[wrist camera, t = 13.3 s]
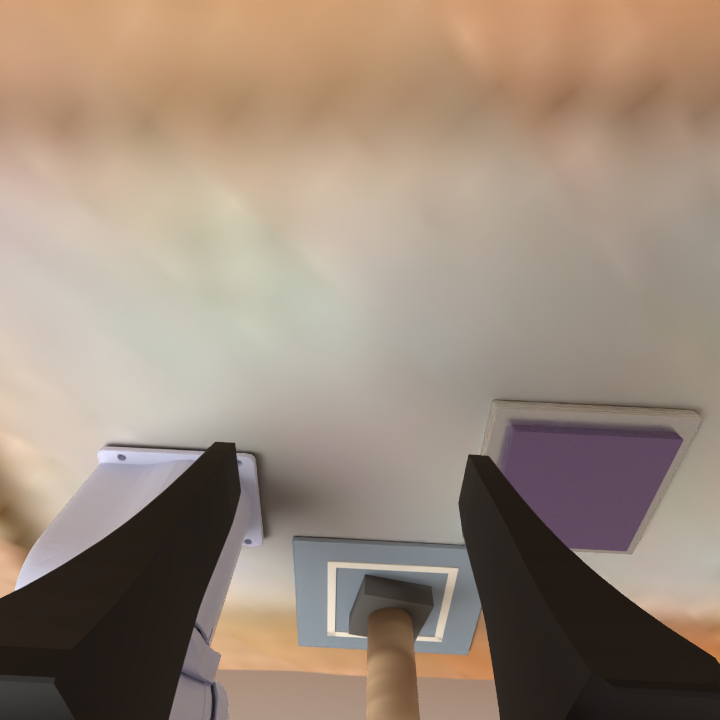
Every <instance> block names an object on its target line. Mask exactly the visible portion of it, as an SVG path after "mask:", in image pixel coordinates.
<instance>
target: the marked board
mask: <svg viewBox="0 0 720 720" xmlns="http://www.w3.org/2000/svg"><path fill="white" fill-rule="evenodd" d="M293 553H294V571H295V589H296V607H297V626H298V644H299V646H307V647H326V648H344V649H363V650H367V637H363V636H357V635H351V634H348V633H349V614H350V611H351V609H352V606H353V604H354V601H355V599H356V596H357V593H358V591H359V588H360V586H361V583H362V581H363V578H364V575H365V574H366V575H372V576H377V577H383V578H388V579H394V580H399V581H405V582H410V583H416V584H421V585H427V586H432V594H433V602H434V608H433V609H432V611H431V613H430V615H429V617H428V619H427V620H426V622H425V624H424V626H423V628H422V630H421V631H420V633H419V635H418V637H417V639H416V641H415V642H414V651H415V652H419V653H437V654H456V655H468V652H469V648H470V645H471V641H472V638H473V634H474V631H475V628H476V624H477V621H478V617H479V614H480V610H481V607H482V606H481V602H480V598H479V594H478V591H477V587H476V583H475V579H474V575H473V572H472V568H471V564H470V560H469V556H468V553H467V549H466V546H463V545H444V544H424V543H405V542H386V541H366V540H347V539H328V538H308V537H293Z"/></svg>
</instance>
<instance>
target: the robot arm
mask: <svg viewBox="0 0 720 720" xmlns="http://www.w3.org/2000/svg"><path fill="white" fill-rule="evenodd" d="M123 455H124V456H123ZM97 456H98V459H99V462H100V464H99V465H98V467H97V468H96V469H95V470H94V471H93V473H92V474H91V475H90V476H89V478H88V479H87V480H86V481H85V482H84V484H83V485H82V486H81V487H80V488H79V490H78V491H77V492H76V493H75V495H74V496H73V497H72V498H71V499H70V501H69V502H68V503H67V504H66V506H65V507H64V508H63V509H62V510H61V512H60V513H59V514H58V515H57V517H56V518H55V519H54V520H53V521H52V523H51V524H50V525H49V526H48V528H47V529H46V530H45V531H44V532H43V534H42V535H41V536H40V537H39V539H38V540H37V541H36V543H35V544H34V546H33V547H32V549H31V551H30V552H29V554H28V556H27V558H26V560H25V562H24V564H23V567H22V569H21V571H20V574H19V577H18V580H17V583H16V587H15V591H14V592H12V593H10V594H8V595H6V596H4V597H2V598H0V720H229V714H228V700H227V694H226V691H225V688H224V686H223V685H222V684H221V683H220V682H219V681H216V680H214V678H215V675H216V671H217V668H218V664H219V661H220V657H221V655H220V653H218V652H216V651H214V650H213V649H211V648H210V645H211V642H212V639H213V636H214V632H215V629H216V626H217V623H218V620H219V617H220V614H221V610H222V607H223V604H224V601H225V598H226V595H227V592H228V588H229V585H230V582H231V579H232V576H233V573H234V569H235V566H236V563H237V560H238V557H239V554H240V551H241V547H242V546H252V547H258V546H261V545H262V544H263V540H264V535H263V525H262V516H261V506H260V496H259V487H258V477H257V467H256V459H255V457H254V456H253V455H251V454H247V453H236V447H235V443H226V442H215V443H214V444H212V445H211V446H210V447H209V448H208V449H207V450H206V451H188V450H168V449H149V448H129V447H109V446H105V447H102V448H101V449H100V450H99V451H98V453H97ZM237 460H240V461H241V462H238V461H237ZM459 510H460V518H461V525H462V532H463V537H464V541H465V545H466V549H467V553H468V556H469V560H470V564H471V568H472V572H473V575H474V579H475V583H476V587H477V591H478V594H479V598H480V602H481V606H482V610H483V614H484V619H485V623H486V629H487V635H488V641H489V647H490V653H491V659H492V666H493V672H494V679H495V686H496V692H497V699H498V706H499V713H500V720H720V664H719V663H718V661H717V660H716V658H715V657H713V656H712V655H710V654H708V653H707V652H705V651H704V650H702V649H701V648H699V647H698V646H696V645H694V644H693V643H691V642H690V641H688V640H687V639H685V638H684V637H682V636H681V635H679V634H677V633H676V632H674V631H673V630H671V629H670V628H668V627H667V626H665V625H664V624H662V623H661V622H660V621H658V620H657V619H655V618H654V617H653V616H651V615H650V614H648V613H647V612H646V611H644V610H643V609H641V608H640V607H639V606H637V605H636V604H635V603H633V602H632V601H631V600H629V599H628V598H627V597H625V596H624V595H623V594H621V593H620V592H619V591H618V590H616V589H615V588H614V587H613V586H612V585H610V584H609V583H608V582H607V581H605V580H604V579H603V578H602V577H600V576H599V575H598V574H597V573H596V572H595V571H593V570H592V569H591V568H590V567H589V566H588V565H586V564H585V563H584V562H583V561H582V560H581V559H580V558H579V557H578V556H577V555H576V554H575V553H573V552H572V551H571V550H570V549H569V548H568V547H567V546H566V545H565V544H564V543H563V542H562V541H561V540H560V539H559V538H558V537H557V536H556V535H555V534H554V533H553V532H552V531H551V530H550V529H549V528H548V527H547V526H546V525H545V523H544V522H543V521H542V520H541V519H540V518H539V517H538V516H537V515H536V513H535V512H534V511H533V510H532V509H531V508H530V506H529V505H528V504H527V503H526V502H525V501H524V499H523V498H522V497H521V496H520V495H519V493H518V492H517V491H516V490H515V489H514V487H513V486H512V485H511V483H510V482H509V481H508V480H507V478H506V477H505V476H504V475H503V473H502V472H501V471H500V469H499V468H498V467H497V466H496V464H495V463H494V462H493V460H492V459H491V458H490V457H489V456H486V455H468V460H467V464H466V469H465V474H464V479H463V484H462V488H461V493H460V498H459Z"/></svg>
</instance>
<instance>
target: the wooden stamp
mask: <svg viewBox="0 0 720 720" xmlns="http://www.w3.org/2000/svg"><path fill="white" fill-rule="evenodd" d="M433 608H434V602H433V594H432V586H427V585H421V584H416V583H410V582H405V581H399V580H394V579H388V578H383V577H377V576H372V575H366V574H365V575H364V578H363V581H362V583H361V586H360V588H359V591H358V593H357V596H356V599H355V601H354V604H353V606H352V609H351V611H350V614H349V633H348V634H351V635H357V636H363V637H367V706H366V709H367V710H366V720H420V717H419V703H418V692H417V677H416V664H415V651H414V642H415V641H416V639H417V637H418V635H419V633H420V631H421V630H422V628H423V626H424V624H425V622H426V620H427V619H428V617H429V615H430V613H431V611H432V609H433Z"/></svg>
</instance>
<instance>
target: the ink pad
mask: <svg viewBox="0 0 720 720" xmlns="http://www.w3.org/2000/svg"><path fill="white" fill-rule="evenodd" d="M702 420H703V418H702V417H700V416H699V415H698V414H697V413H696V412H695V411H694V410H683V409H662V408H642V407H622V406H601V405H581V404H560V403H540V402H519V401H499V400H493V403H492V408H491V412H490V416H489V421H488V425H487V430H486V434H485V439H484V443H483V447H482V452H481V455H486V456H489V457H490V458H491V459H492V460H493V462H494V463H495V464H496V466H497V467H498V468H499V469H500V471H501V472H502V473H503V475H504V476H505V477H506V478H507V480H508V481H509V482H510V483H511V485H512V486H513V487H514V489H515V490H516V491H517V492H518V493H519V495H520V496H521V497H522V498H523V499H524V501H525V502H526V503H527V504H528V505H529V506H530V508H531V509H532V510H533V511H534V512H535V513H536V515H537V516H538V517H539V518H540V519H541V520H542V521H543V522H544V523H545V525H546V526H547V527H548V528H549V529H550V530H551V531H552V532H553V533H554V534H555V535H556V536H557V537H558V538H559V539H560V540H561V541H562V542H563V543H564V544H565V545H566V546H567V547H568V548H569V549H570V550H571V551H578V552H597V553H617V554H633V552H634V550H635V548H636V546H637V544H638V542H639V540H640V538H641V536H642V534H643V532H644V531H645V529H646V527H647V525H648V523H649V521H650V519H651V517H652V515H653V513H654V511H655V510H656V508H657V506H658V504H659V502H660V500H661V498H662V496H663V494H664V492H665V490H666V488H667V487H668V485H669V483H670V481H671V479H672V477H673V475H674V473H675V471H676V469H677V467H678V466H679V464H680V462H681V460H682V458H683V456H684V454H685V452H686V450H687V448H688V446H689V444H690V443H691V441H692V439H693V437H694V435H695V433H696V431H697V429H698V427H699V425H700V423H701V422H702ZM463 540H464V537H463ZM464 544H465V541H464ZM465 546H466V545H465Z"/></svg>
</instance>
